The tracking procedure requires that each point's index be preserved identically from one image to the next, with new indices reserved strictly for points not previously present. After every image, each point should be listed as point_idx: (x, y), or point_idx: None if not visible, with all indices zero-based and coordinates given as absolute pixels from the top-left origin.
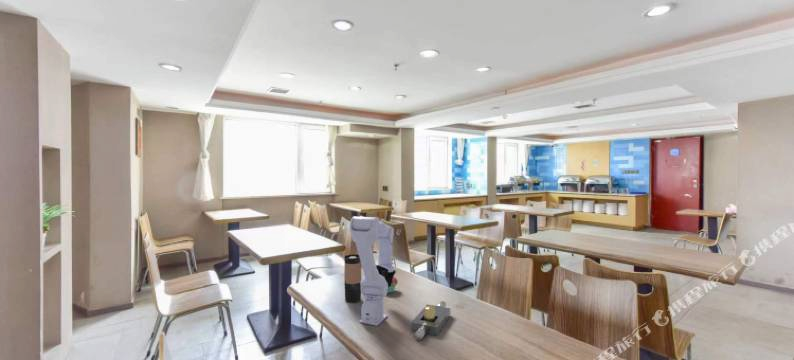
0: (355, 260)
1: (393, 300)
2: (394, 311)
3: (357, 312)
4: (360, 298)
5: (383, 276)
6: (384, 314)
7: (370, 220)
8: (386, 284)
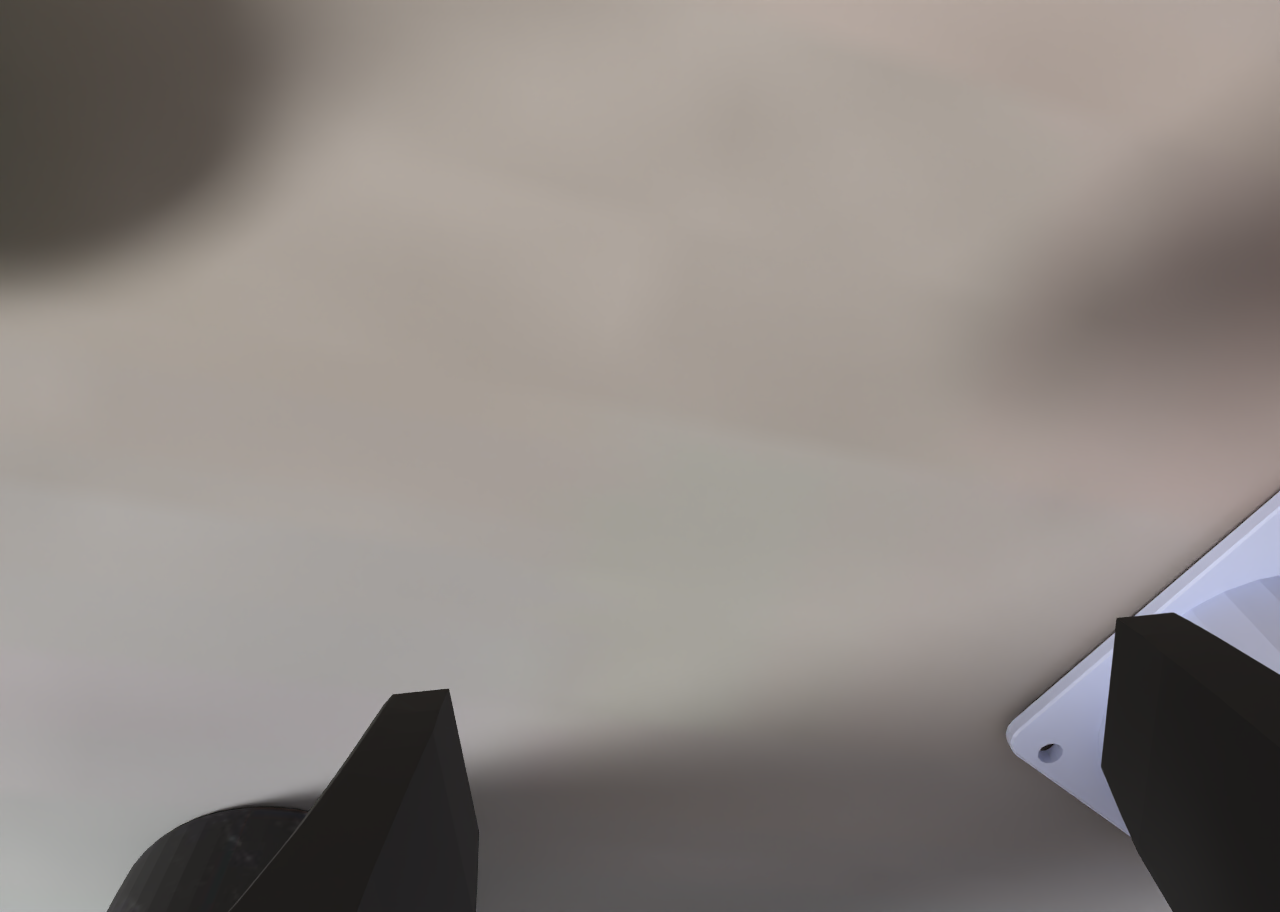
0: None
1: (474, 131)
2: (1133, 275)
3: (878, 902)
4: None
5: (428, 891)
6: (1255, 536)
7: None
8: None
